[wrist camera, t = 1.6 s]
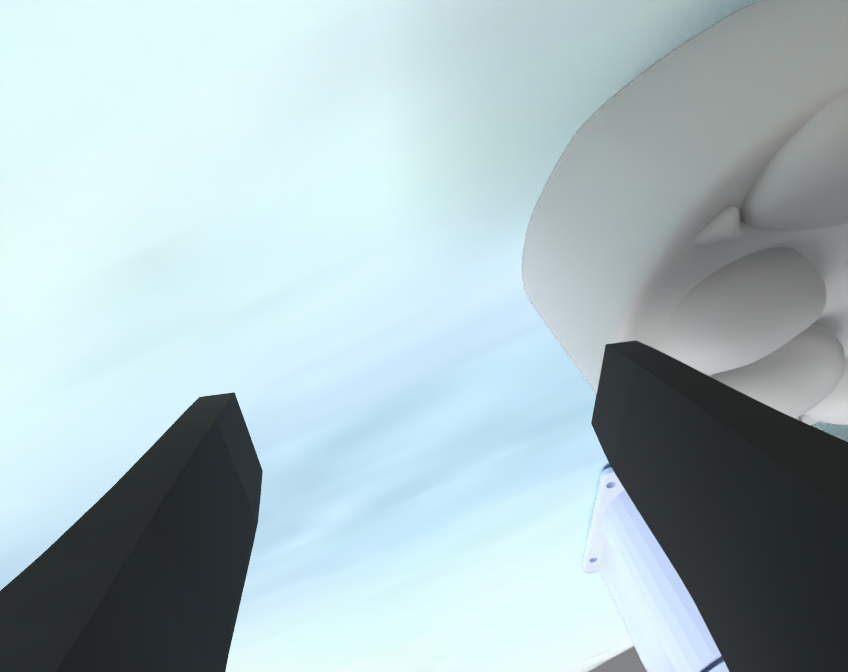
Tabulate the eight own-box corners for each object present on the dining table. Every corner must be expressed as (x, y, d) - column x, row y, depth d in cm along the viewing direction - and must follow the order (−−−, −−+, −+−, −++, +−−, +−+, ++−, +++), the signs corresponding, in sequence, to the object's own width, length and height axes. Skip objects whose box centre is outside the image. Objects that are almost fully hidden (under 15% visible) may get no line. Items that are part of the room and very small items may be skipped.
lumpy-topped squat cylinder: (860, 210, 19) (1175, 311, 12) (581, 378, 22) (697, 545, 15) (822, -62, 14) (1341, -179, 7) (464, 204, 17) (553, 326, 9)
